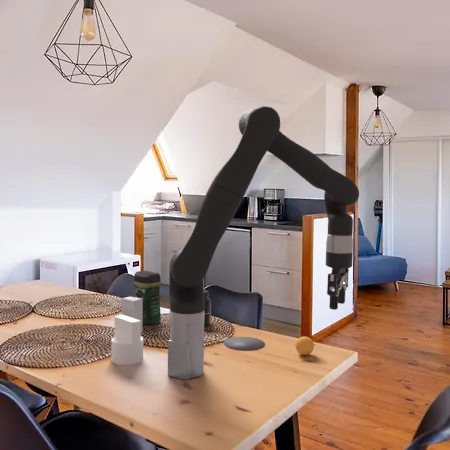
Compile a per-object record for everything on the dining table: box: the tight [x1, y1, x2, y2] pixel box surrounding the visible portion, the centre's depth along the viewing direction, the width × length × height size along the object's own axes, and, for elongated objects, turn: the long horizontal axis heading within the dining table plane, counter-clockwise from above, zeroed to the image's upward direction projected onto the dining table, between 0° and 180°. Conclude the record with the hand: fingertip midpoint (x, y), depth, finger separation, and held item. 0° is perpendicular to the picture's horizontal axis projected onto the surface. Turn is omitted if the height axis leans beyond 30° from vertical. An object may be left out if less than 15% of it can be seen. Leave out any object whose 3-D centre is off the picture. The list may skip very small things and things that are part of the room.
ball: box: [295, 336, 315, 356], centre depth 152 cm, size 6×6×6 cm
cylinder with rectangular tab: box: [110, 314, 144, 366], centre depth 145 cm, size 9×9×12 cm
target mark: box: [223, 336, 266, 351], centre depth 162 cm, size 13×13×1 cm
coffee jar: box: [133, 270, 162, 325], centre depth 183 cm, size 10×8×19 cm
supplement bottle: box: [203, 289, 212, 326], centre depth 183 cm, size 7×7×12 cm
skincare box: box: [121, 296, 144, 332], centre depth 170 cm, size 6×4×12 cm
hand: (337, 306), depth 147 cm, fingers open, 7 cm apart
